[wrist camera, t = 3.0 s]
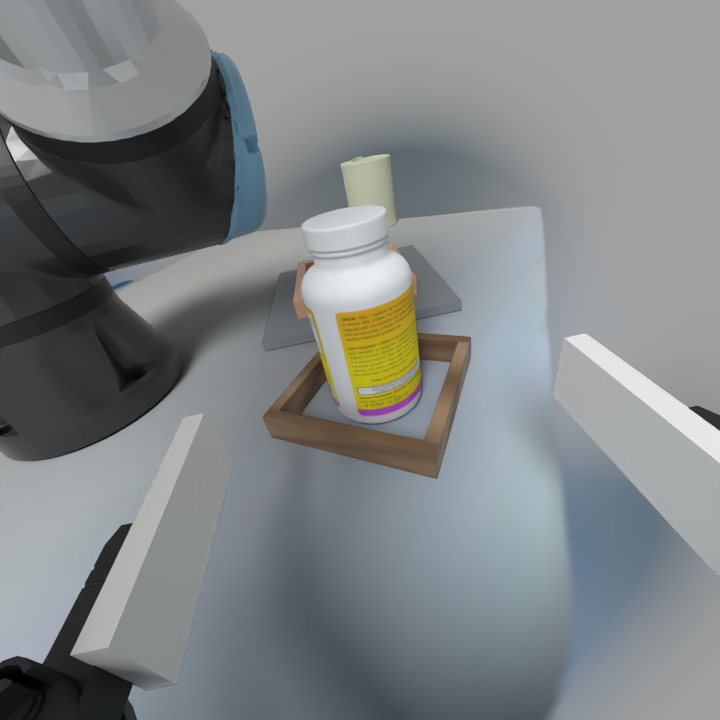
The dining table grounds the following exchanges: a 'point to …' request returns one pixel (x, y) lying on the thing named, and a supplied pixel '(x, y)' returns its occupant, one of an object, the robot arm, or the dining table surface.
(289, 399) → the collar
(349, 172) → the can
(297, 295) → the collar
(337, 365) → the supplement bottle
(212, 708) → the dining table surface
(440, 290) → the mat
